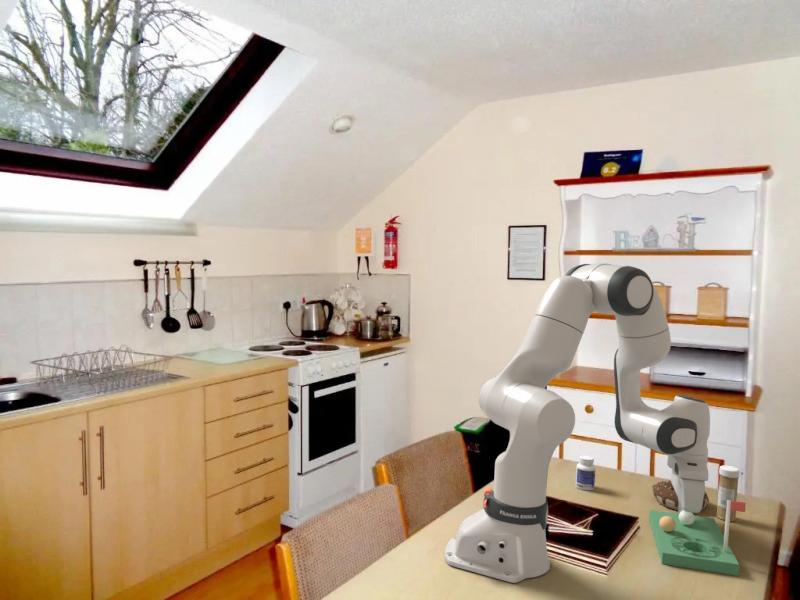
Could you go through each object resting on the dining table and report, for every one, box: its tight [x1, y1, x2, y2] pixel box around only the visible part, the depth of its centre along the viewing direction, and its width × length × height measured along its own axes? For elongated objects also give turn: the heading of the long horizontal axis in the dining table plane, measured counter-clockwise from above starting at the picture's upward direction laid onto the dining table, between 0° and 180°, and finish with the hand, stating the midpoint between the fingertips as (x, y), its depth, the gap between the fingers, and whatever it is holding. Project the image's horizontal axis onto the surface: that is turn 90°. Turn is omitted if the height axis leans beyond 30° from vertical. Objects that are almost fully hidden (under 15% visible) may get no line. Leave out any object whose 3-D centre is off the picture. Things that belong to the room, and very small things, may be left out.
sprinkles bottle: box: [716, 464, 740, 522], centre depth 158 cm, size 5×5×14 cm
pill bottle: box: [575, 455, 596, 491], centre depth 176 cm, size 5×5×9 cm
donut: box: [652, 479, 710, 511], centre depth 167 cm, size 14×14×5 cm
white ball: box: [678, 510, 695, 525], centre depth 147 cm, size 4×4×4 cm
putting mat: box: [648, 500, 746, 577], centre depth 142 cm, size 17×24×14 cm
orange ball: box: [659, 516, 676, 532], centre depth 143 cm, size 4×4×4 cm
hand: (683, 515), depth 151 cm, fingers closed
